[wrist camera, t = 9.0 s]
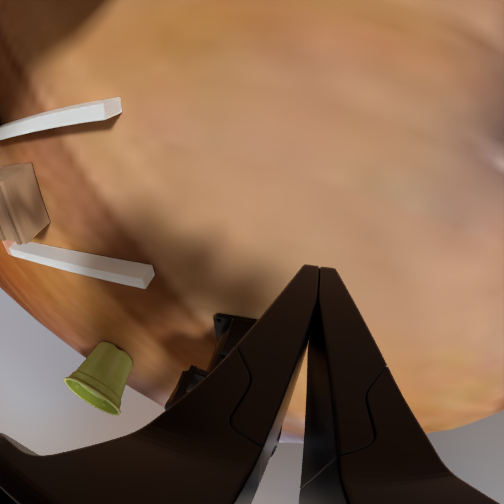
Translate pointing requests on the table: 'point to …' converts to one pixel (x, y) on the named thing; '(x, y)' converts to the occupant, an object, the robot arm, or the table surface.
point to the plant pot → (102, 378)
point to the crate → (20, 204)
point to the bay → (65, 258)
